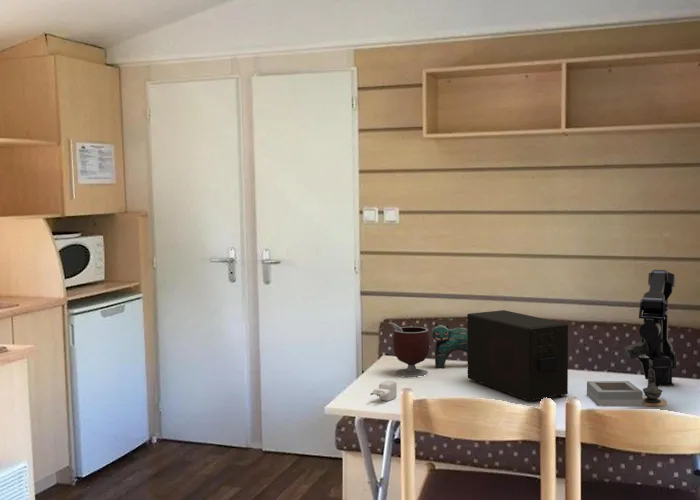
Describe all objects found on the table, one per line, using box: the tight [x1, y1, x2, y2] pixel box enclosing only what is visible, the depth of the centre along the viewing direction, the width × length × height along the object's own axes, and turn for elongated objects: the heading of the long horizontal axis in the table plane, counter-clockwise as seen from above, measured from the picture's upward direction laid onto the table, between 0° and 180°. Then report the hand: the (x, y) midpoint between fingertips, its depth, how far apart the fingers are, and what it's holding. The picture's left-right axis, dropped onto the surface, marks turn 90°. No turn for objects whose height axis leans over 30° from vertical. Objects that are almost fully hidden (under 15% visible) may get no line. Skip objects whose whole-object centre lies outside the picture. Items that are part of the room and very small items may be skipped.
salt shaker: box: [642, 368, 663, 404], centre depth 248 cm, size 6×6×12 cm
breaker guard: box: [586, 380, 644, 407], centre depth 253 cm, size 14×14×4 cm
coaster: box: [643, 396, 668, 408], centre depth 249 cm, size 9×9×1 cm
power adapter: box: [370, 380, 398, 402], centre depth 256 cm, size 11×5×6 cm, turn 144°
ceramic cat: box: [431, 317, 467, 369], centre depth 303 cm, size 20×6×20 cm, turn 95°
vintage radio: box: [466, 309, 569, 402], centre depth 268 cm, size 38×20×25 cm, turn 26°
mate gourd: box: [388, 321, 431, 378], centre depth 293 cm, size 16×14×20 cm
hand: (652, 382), depth 248 cm, fingers open, 9 cm apart
